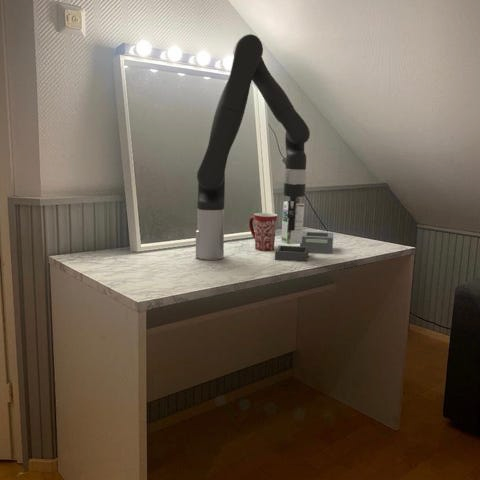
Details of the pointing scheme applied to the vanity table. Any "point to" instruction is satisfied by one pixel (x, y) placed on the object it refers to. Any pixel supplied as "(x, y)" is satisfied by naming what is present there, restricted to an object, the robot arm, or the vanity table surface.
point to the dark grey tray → (292, 253)
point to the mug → (264, 230)
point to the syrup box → (295, 235)
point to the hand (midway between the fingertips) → (292, 228)
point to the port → (317, 242)
